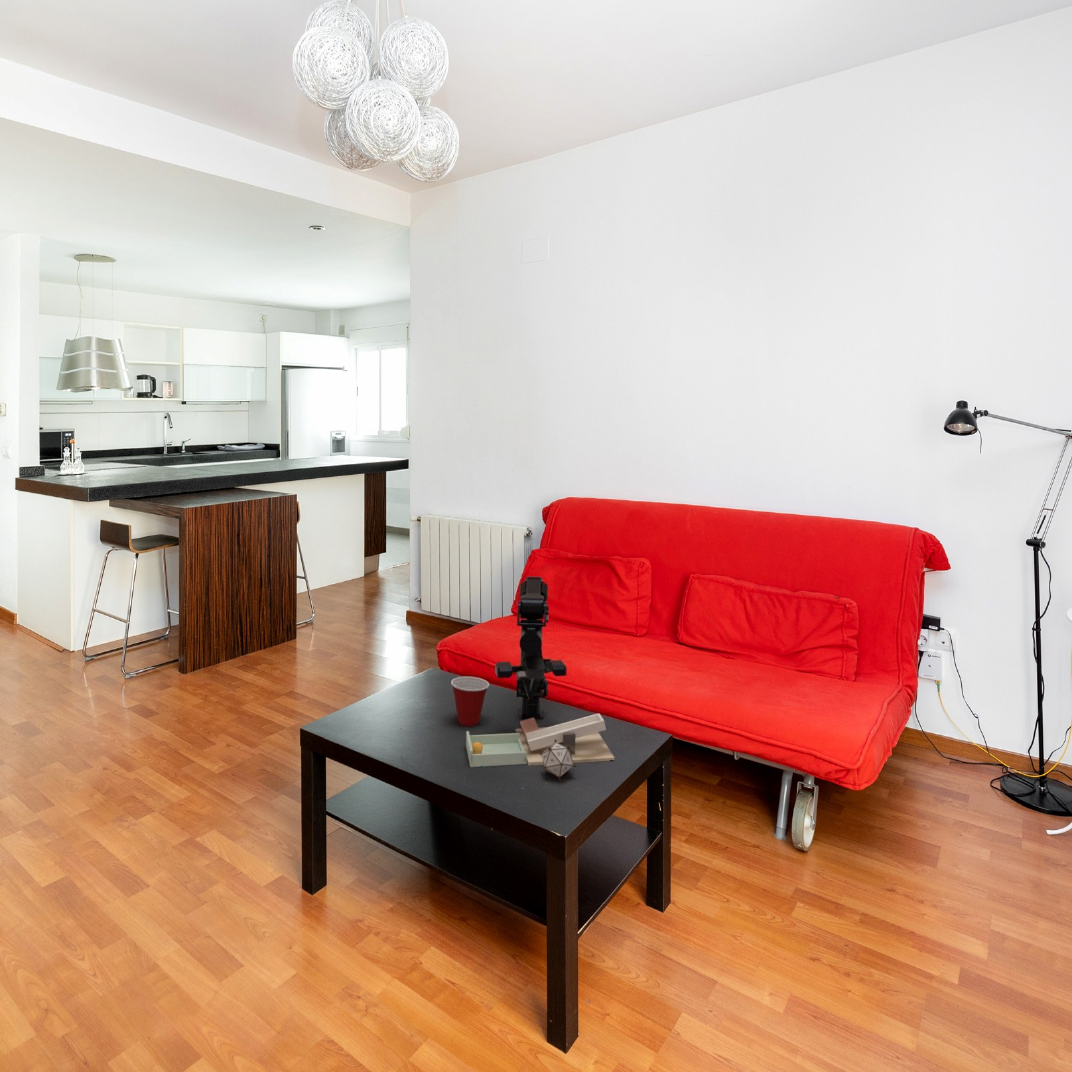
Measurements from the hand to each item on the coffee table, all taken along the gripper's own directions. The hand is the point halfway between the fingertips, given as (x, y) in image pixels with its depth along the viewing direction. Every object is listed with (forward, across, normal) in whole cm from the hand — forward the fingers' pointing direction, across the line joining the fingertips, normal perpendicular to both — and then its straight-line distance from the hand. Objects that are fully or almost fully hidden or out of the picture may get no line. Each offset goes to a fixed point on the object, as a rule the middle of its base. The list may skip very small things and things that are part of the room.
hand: (530, 699), depth 197 cm
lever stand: (+10, +8, -8) cm, 15 cm away
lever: (+6, +8, -5) cm, 11 cm away
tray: (+10, -11, -12) cm, 19 cm away
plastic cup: (+10, -15, +10) cm, 21 cm away
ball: (+8, -15, -12) cm, 21 cm away
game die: (+10, +3, -24) cm, 27 cm away
